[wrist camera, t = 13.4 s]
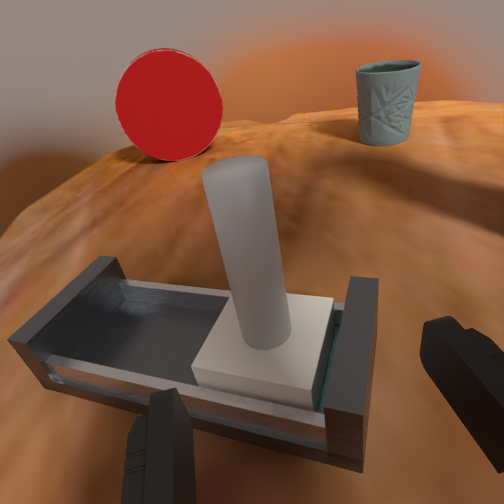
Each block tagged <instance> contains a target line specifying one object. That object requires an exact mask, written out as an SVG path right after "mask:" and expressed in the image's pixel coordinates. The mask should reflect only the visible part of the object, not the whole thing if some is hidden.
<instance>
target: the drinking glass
mask: <svg viewBox="0 0 504 504" xmlns="http://www.w3.org/2000/svg"><path fill="white" fill-rule="evenodd" d="M420 70H421V63H420V62H419V61H411V60H396V61H385V62H379V63H373V64H369V65H365V66H362V67H359V68H358V69H357V70H356V81H357V94H358V97H357V100H358V113H359V114H358V118H359V127H360V128H359V139H360V141H361V142H362V143H363V144H366V145H372V146H387V145H394V144H398V143H401V142H403V141H405V140H407V139H408V137H409V132H410V126H411V120H412V113H413V106H414V101H415V96H416V90H417V82H418V80H419V75H420Z"/></svg>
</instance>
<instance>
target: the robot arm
mask: <svg viewBox="0 0 504 504" xmlns="http://www.w3.org/2000/svg"><path fill="white" fill-rule="evenodd" d="M420 358H421V362H422V364H423V367H424V369H425V370H426V372H427V373H428V375H429V376H430V378H431V379H432V380H433V382H434V383H435V385H436V386H437V388H438V389H439V390H440V392H441V393H442V395H443V396H444V397H445V399H446V400H447V402H448V403H449V404H450V406H451V407H452V409H453V410H454V411H455V413H456V414H457V416H458V417H459V418H460V420H461V421H462V423H463V424H464V426H465V427H466V428H467V430H468V431H469V433H470V434H471V435H472V437H473V438H474V440H475V441H476V442H477V444H478V445H479V447H480V448H481V449H482V451H483V452H484V454H485V455H486V456H487V458H488V459H489V461H490V462H491V464H492V465H493V466H494V468H495V469H496V471H497V472H498V473H503V472H504V352H503V351H502V350H501V349H500V348H499V347H498V346H497V345H496V344H495V343H494V342H493V341H492V340H491V339H490V338H489V337H487V336H485V335H483V334H482V333H480V332H478V331H476V330H475V329H473V328H470V329H466V330H465V329H464V328H463V327H462V326H461V325H460V324H459V323H458V322H457V321H456V320H455V319H454V318H453V317H451V316H445V317H442V318H438V319H434V320H430V321H427V322H425V323H424V326H423V333H422V340H421V347H420ZM124 472H125V475H124V477H123V487H122V497H121V504H196V484H195V465H194V445H193V430H192V424H191V420H190V416H189V414H188V411H187V409H186V407H185V405H184V403H183V401H182V399H181V397H180V394H179V392H178V390H177V389H176V388H171V389H167V390H163V391H160V392H156V393H152V394H151V395H150V400H149V414H146V415H143V416H139V417H136V419H135V421H134V424H133V426H132V428H131V430H130V432H129V434H128V439H127V448H126V459H125V468H124Z"/></svg>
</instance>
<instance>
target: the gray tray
mask: <svg viewBox="0 0 504 504" xmlns="http://www.w3.org/2000/svg"><path fill="white" fill-rule="evenodd" d="M378 286H379V279H378V278H365V277H353V276H350V281H349V286H348V291H347V296H346V301H345V303H339V302H334V315H335V330H334V334H333V339H332V343H331V348H330V352H329V357H328V361H327V366H326V370H325V375H324V379H323V384H322V388H321V393H320V397H319V402H318V406H317V411H316V412H312V411H307V410H303V409H298V408H294V407H289V406H284V405H280V404H275V403H271V402H266V401H262V400H257V399H253V398H248V397H244V396H239V395H234V394H230V393H225V392H221V391H216V390H212V389H207V388H203V387H199V386H198V383H197V381H196V378H195V376H194V373H193V371H192V368H191V365H192V363H193V361H194V360H195V358H196V356H197V354H198V353H199V351H200V349H201V347H202V346H203V344H204V342H205V340H206V338H207V337H208V335H209V333H210V331H211V330H212V328H213V326H214V324H215V323H216V321H217V319H218V317H219V316H220V314H221V312H222V310H223V308H224V307H225V305H226V303H227V301H228V300H229V298H230V296H231V291H228V290H219V289H209V288H200V287H191V286H182V285H172V284H163V283H154V282H145V281H136V280H126V278H125V275H124V273H123V271H122V269H121V267H120V264H119V262H118V260H117V258H116V257H109V256H99V257H98V258H97V259H96V260H95V261H94V262H93V263H91V264H90V265H89V266H88V267H87V268H86V269H85V270H84V271H83V272H82V273H80V274H79V275H78V276H77V277H76V278H75V279H74V280H73V281H72V282H70V283H69V284H68V285H67V286H66V287H65V288H64V289H63V290H62V291H60V292H59V293H58V294H57V295H56V296H55V297H54V298H53V299H52V300H50V301H49V302H48V303H47V304H46V305H45V306H44V307H43V308H42V309H40V310H39V311H38V312H37V313H36V314H35V315H34V316H33V317H32V318H31V319H29V320H28V321H27V322H26V323H25V324H24V325H23V326H22V327H21V328H19V329H18V330H17V331H16V332H15V333H14V334H13V335H12V336H11V337H9V338H8V339H7V340H8V341H9V343H10V344H11V345H12V346H13V348H14V349H15V350H16V352H17V353H18V354H19V356H20V357H21V358H22V360H23V361H24V362H25V363H26V365H27V366H28V367H29V369H30V370H31V371H32V373H33V374H34V375H35V376H36V378H37V379H38V380H39V382H40V383H41V384H42V386H43V387H44V388H46V389H50V390H53V391H57V392H61V393H64V394H68V395H72V396H76V397H79V398H83V399H87V400H90V401H94V402H98V403H102V404H105V405H109V406H113V407H117V408H120V409H124V410H128V411H131V412H135V413H139V414H143V415H146V414H149V400H150V395H151V394H152V393H156V392H160V391H163V390H167V389H171V388H176V389H177V390H178V392H179V394H180V397H181V399H182V401H183V403H184V405H185V407H186V409H187V411H188V414H189V416H190V420H191V424H192V428H195V429H199V430H202V431H206V432H210V433H213V434H217V435H221V436H225V437H228V438H232V439H236V440H240V441H243V442H247V443H251V444H254V445H258V446H262V447H266V448H269V449H273V450H277V451H281V452H284V453H288V454H292V455H295V456H299V457H303V458H307V459H310V460H314V461H318V462H322V463H325V464H329V465H333V466H336V467H340V468H344V469H348V470H351V471H355V472H359V473H363V466H364V456H365V447H366V437H367V427H368V417H369V407H370V397H371V387H372V377H373V368H374V358H375V348H376V338H377V314H378Z"/></svg>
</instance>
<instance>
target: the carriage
mask: <svg viewBox="0 0 504 504" xmlns="http://www.w3.org/2000/svg"><path fill="white" fill-rule="evenodd" d="M201 177H202V180H203V184H204V188H205V192H206V196H207V200H208V204H209V208H210V212H211V216H212V220H213V224H214V228H215V232H216V235H217V239H218V243H219V247H220V251H221V255H222V259H223V263H224V267H225V271H226V275H227V279H228V283H229V286H230V290H231V296H230V298H229V300H228V301H227V303H226V305H225V307H224V308H223V310H222V312H221V314H220V316H219V317H218V319H217V321H216V323H215V324H214V326H213V328H212V330H211V331H210V333H209V335H208V337H207V338H206V340H205V342H204V344H203V346H202V347H201V349H200V351H199V353H198V354H197V356H196V358H195V360H194V361H193V363H192V365H191V368H192V371H193V373H194V376H195V378H196V381H197V383H198V386H199V387H203V388H207V389H212V390H216V391H221V392H225V393H230V394H234V395H239V396H244V397H248V398H253V399H257V400H262V401H266V402H271V403H275V404H280V405H284V406H289V407H294V408H298V409H303V410H307V411H312V412H316V411H317V406H318V402H319V397H320V393H321V388H322V384H323V379H324V375H325V370H326V366H327V361H328V357H329V352H330V348H331V343H332V339H333V334H334V330H335V315H334V298H327V297H318V296H308V295H298V294H289V293H286V286H285V280H284V273H283V266H282V259H281V252H280V245H279V238H278V231H277V225H276V218H275V211H274V204H273V197H272V190H271V183H270V176H269V170H268V163H267V160H266V159H264V158H262V157H259V156H236V157H231V158H226V159H223V160H220V161H217V162H215V163H213V164H211V165H209V166H207V167H206V168H205V169H204V170H203V171H202V173H201Z"/></svg>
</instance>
